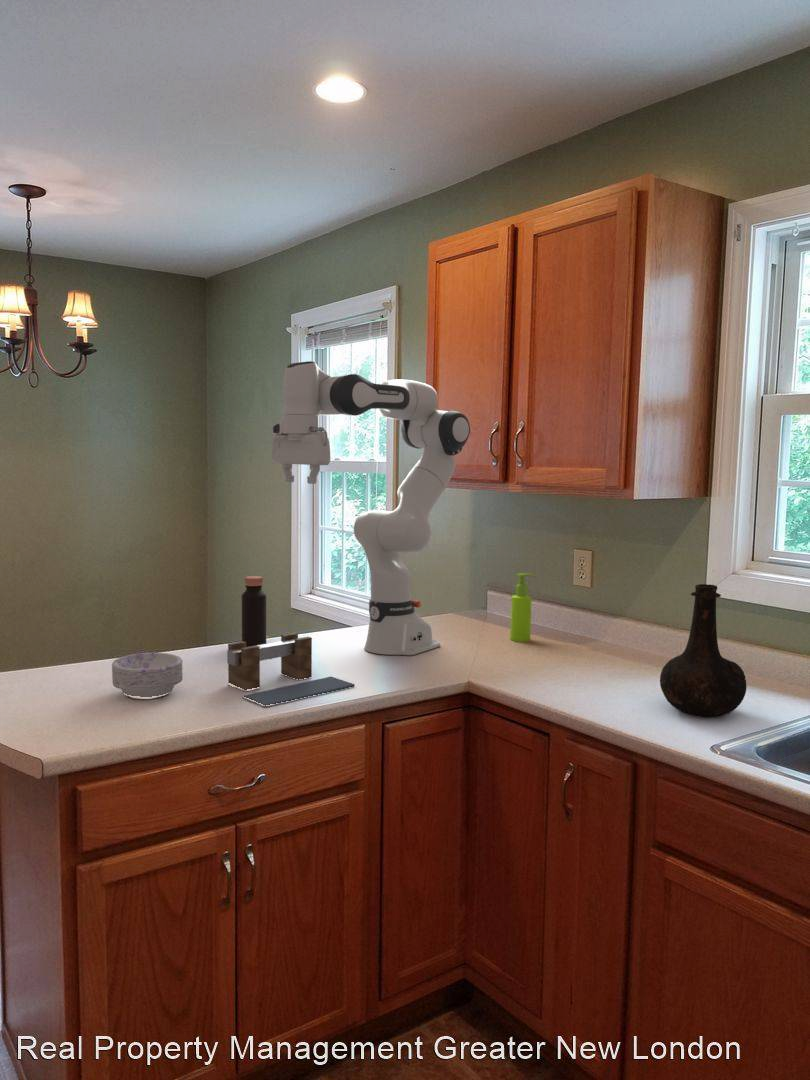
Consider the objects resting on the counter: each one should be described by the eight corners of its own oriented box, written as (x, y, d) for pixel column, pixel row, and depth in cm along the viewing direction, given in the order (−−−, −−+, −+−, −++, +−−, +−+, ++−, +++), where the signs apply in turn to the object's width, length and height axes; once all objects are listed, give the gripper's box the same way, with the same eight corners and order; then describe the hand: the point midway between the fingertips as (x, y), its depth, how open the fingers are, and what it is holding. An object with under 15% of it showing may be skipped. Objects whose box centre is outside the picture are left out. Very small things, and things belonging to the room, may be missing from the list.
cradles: (294, 671, 209) (294, 632, 208) (311, 677, 204) (311, 637, 203) (228, 685, 197) (228, 643, 195) (245, 691, 191) (244, 649, 190)
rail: (304, 648, 208) (304, 637, 208) (311, 651, 206) (311, 639, 206) (227, 663, 193) (227, 650, 193) (234, 665, 191) (234, 652, 191)
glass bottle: (727, 731, 169) (735, 595, 166) (644, 712, 181) (650, 585, 178) (756, 711, 183) (764, 585, 180) (677, 695, 194) (683, 576, 191)
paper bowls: (155, 707, 179) (154, 671, 178) (97, 699, 184) (96, 664, 183) (196, 689, 193) (195, 655, 192) (141, 682, 198) (141, 649, 197)
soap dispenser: (534, 642, 247) (537, 575, 245) (511, 641, 247) (513, 574, 245) (532, 637, 253) (534, 572, 250) (509, 637, 253) (511, 572, 251)
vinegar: (261, 651, 230) (260, 579, 228) (238, 649, 232) (237, 578, 230) (269, 645, 237) (269, 576, 235) (247, 644, 238) (247, 574, 236)
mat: (331, 678, 203) (331, 676, 203) (354, 686, 197) (354, 684, 197) (242, 698, 186) (242, 695, 186) (265, 707, 180) (265, 704, 180)
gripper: (336, 427, 202) (336, 484, 203) (287, 428, 216) (287, 481, 218) (316, 426, 197) (315, 484, 199) (267, 427, 212) (267, 481, 214)
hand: (300, 482), depth 208 cm, fingers open, 8 cm apart
